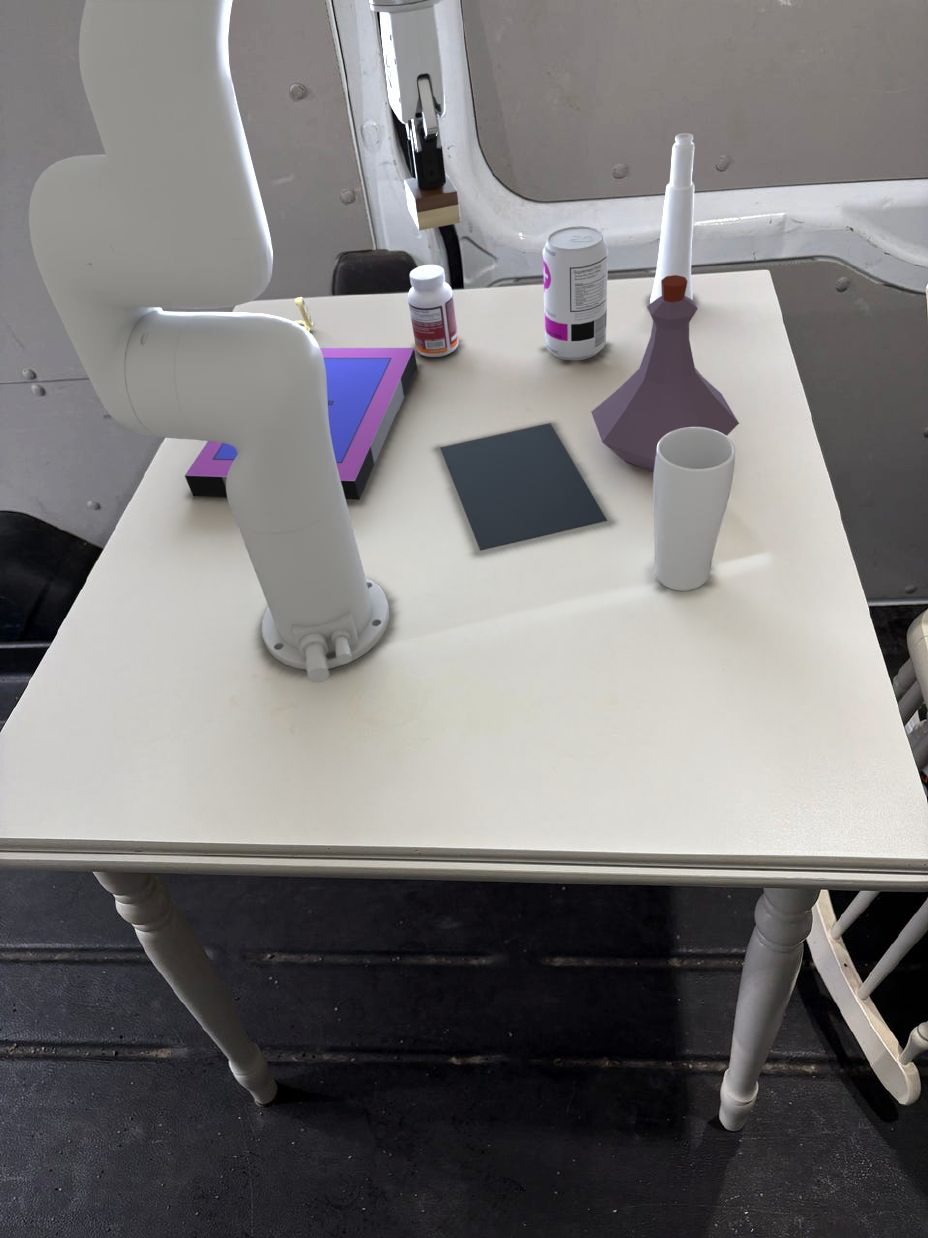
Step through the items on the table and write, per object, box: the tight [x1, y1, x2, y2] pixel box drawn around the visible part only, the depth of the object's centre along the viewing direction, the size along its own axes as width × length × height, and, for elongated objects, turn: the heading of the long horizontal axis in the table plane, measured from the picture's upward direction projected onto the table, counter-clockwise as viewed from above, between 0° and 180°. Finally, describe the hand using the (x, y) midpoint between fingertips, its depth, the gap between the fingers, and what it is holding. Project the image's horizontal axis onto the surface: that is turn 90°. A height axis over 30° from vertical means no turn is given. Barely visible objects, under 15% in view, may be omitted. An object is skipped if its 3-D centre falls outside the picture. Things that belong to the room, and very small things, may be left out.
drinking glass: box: [652, 427, 737, 592], centre depth 77 cm, size 7×7×15 cm
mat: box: [439, 422, 608, 551], centre depth 95 cm, size 20×14×1 cm
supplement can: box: [542, 225, 609, 361], centre depth 110 cm, size 8×8×15 cm
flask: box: [590, 275, 740, 473], centre depth 90 cm, size 16×16×20 cm
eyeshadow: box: [292, 296, 314, 333], centre depth 126 cm, size 4×5×5 cm
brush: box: [404, 125, 462, 231], centre depth 96 cm, size 7×5×10 cm
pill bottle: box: [407, 264, 459, 358], centre depth 115 cm, size 6×6×11 cm
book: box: [184, 347, 418, 501], centre depth 107 cm, size 21×3×30 cm
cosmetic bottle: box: [649, 132, 696, 304], centre depth 114 cm, size 6×6×22 cm
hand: (428, 179), depth 97 cm, fingers closed on brush, 3 cm apart
